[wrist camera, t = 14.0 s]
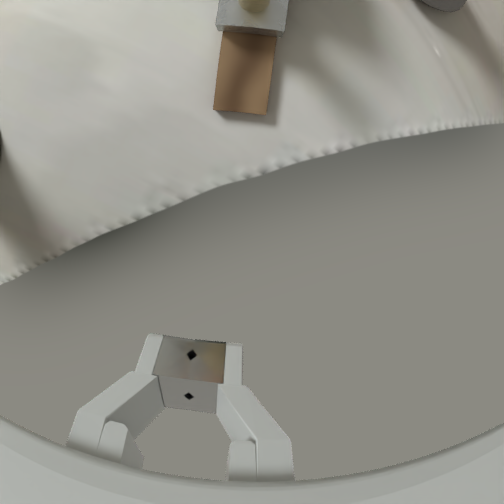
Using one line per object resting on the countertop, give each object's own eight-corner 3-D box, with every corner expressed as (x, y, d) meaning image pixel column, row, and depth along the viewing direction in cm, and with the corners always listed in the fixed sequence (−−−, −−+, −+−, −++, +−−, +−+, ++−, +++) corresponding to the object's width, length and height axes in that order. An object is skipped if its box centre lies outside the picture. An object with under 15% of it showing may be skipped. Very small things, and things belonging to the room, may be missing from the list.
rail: (214, 109, 31) (213, 109, 30) (232, -17, 23) (231, -21, 21) (265, 114, 31) (265, 115, 30) (282, -12, 23) (284, -16, 22)
